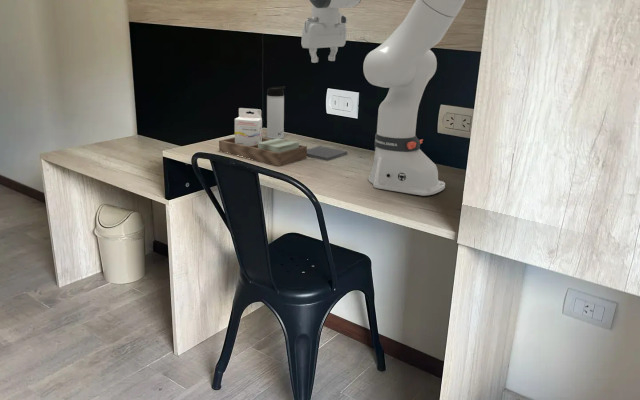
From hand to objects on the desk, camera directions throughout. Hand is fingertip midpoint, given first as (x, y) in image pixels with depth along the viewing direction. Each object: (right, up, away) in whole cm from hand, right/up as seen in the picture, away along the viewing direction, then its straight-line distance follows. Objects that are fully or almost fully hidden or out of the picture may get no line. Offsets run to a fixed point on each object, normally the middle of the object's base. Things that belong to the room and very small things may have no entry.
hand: (323, 61), depth 184 cm
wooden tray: (-21, -31, +4) cm, 37 cm away
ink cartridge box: (-26, -29, +8) cm, 40 cm away
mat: (0, -30, +8) cm, 31 cm away
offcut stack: (-15, -33, -1) cm, 36 cm away
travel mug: (-18, -23, +27) cm, 40 cm away
